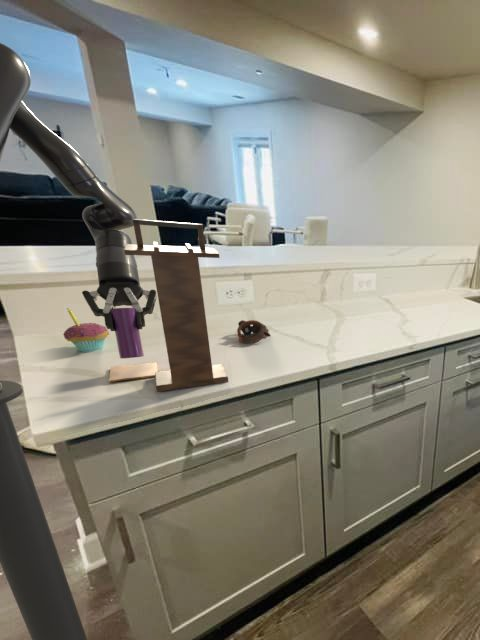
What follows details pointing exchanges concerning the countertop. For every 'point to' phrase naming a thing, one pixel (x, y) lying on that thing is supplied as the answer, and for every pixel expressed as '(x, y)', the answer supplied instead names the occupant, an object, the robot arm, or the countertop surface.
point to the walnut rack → (181, 308)
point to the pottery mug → (257, 329)
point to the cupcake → (86, 335)
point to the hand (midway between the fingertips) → (126, 328)
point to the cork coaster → (133, 371)
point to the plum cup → (127, 332)
